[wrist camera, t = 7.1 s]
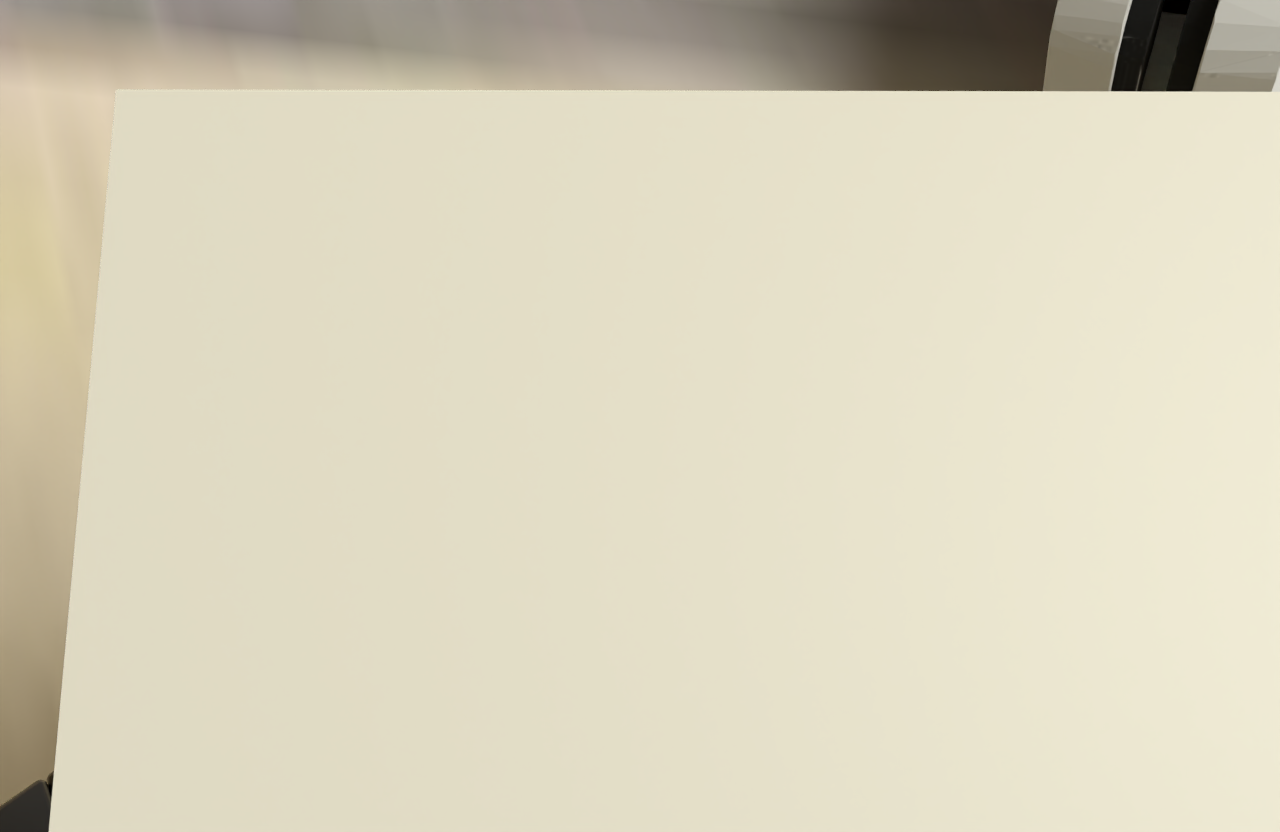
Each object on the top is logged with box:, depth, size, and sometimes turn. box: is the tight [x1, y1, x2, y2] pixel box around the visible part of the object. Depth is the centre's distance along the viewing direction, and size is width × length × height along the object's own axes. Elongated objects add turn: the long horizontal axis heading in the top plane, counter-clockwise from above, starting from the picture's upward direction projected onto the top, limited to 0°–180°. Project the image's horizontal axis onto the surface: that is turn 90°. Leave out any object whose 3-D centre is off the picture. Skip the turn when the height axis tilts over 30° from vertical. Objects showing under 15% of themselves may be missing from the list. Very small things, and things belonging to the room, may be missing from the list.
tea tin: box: [49, 89, 1280, 832], centre depth 9 cm, size 5×5×13 cm
